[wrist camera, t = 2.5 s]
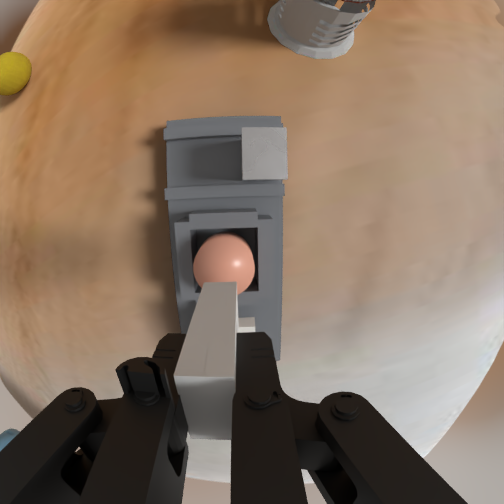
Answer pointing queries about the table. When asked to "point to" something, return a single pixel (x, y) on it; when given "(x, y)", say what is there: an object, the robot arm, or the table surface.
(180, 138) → the panel
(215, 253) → the push button
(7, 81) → the lemon
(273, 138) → the slide switch
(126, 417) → the robot arm
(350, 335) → the table surface
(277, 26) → the french press
